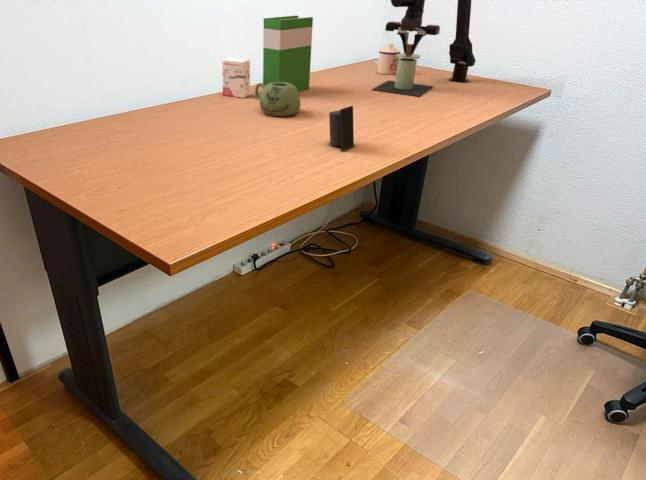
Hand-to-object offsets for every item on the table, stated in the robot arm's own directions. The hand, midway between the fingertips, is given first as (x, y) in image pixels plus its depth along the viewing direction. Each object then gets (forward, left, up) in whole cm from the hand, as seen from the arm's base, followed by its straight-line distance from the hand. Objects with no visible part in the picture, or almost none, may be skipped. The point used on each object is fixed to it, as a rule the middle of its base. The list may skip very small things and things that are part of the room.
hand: (408, 53), depth 187 cm
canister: (0, 0, -12) cm, 12 cm away
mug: (+59, -24, -13) cm, 65 cm away
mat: (+1, 0, -12) cm, 12 cm away
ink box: (+47, -46, -13) cm, 67 cm away
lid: (0, 0, -1) cm, 1 cm away
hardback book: (+31, -35, -13) cm, 48 cm away
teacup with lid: (-27, -15, -13) cm, 34 cm away
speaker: (+79, +6, -13) cm, 80 cm away
